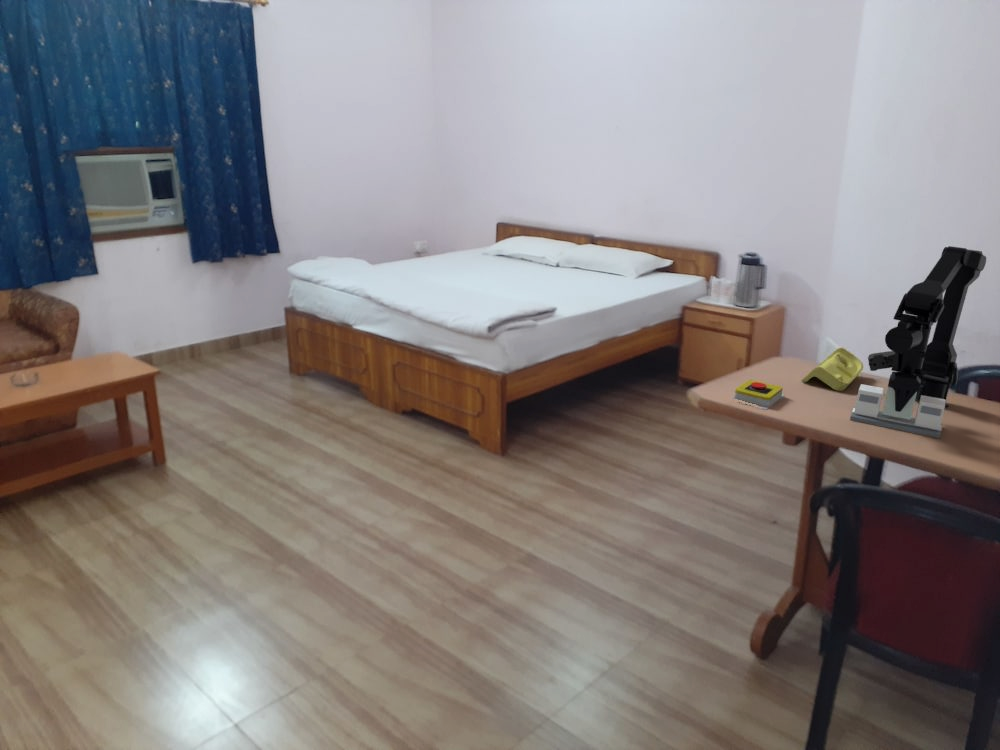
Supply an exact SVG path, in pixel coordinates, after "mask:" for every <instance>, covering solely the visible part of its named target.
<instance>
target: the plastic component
mask: <svg viewBox="0 0 1000 750" xmlns="http://www.w3.org/2000/svg"><path fill="white" fill-rule="evenodd" d="M863 370H864V363H862V361H861V360H860V359H859V358H858V357H857V356H856V355H854V354H853V353H851V351H849V350H847V349H846V348H844V347H838V348H836V349H835V351H833V352H832V353H831V354H830V355H829V356H828V357H826V359H824V360H823V361H822V362H821V363H819V364H818V366H815V368H814V369H812V370H811V372H810V373H808V374H807V375H805V377H804V378H803V379H801V382H803V383H807V382H808V381H810V379H812V378H817V379H818V380H820V381H821V382H823V383H824V384H825V385H827V386H829V387H830V388H831V389H833V390H835V391H837V392H842V391H845V389H846V388H847V387H849V385H851V383H852V382H853V381H854V380H855V379H856V378H857V377H858V376H859V375H860V374H861V372H863Z"/></svg>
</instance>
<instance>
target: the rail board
mask: <svg viewBox="0 0 1000 750" xmlns="http://www.w3.org/2000/svg"><path fill="white" fill-rule="evenodd" d="M883 393H884V388H883V387H877V386H873V385H868V384H862V383H861V384H860V385H859V388H858V393H857V396H856V401H855V405H854V407H853V409H852V411H851V415H850V419H849V420H850V421H854V422H859V423H863V424H868V425H873V426H878V427H882V428H888V429H893V430H897V431H902V432H908V433H912V434H917V435H923V436H928V437H931V438H937V439H941V436H942V430H943V429H942V428H943V426H942V425H943V424H942V420H943V416H944V412H945V408H946V407H945V403H946V402H945V399H940V398H934V397H929V396H923V395H921V398H920V402H918V403H919V404H918V406H917V410H916V415H915V417H911V420H909V419H904V418H899V417H894V416H889V415H884V414H882V413H883V411H880V406H881V402H882V397H883Z"/></svg>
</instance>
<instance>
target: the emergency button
mask: <svg viewBox="0 0 1000 750" xmlns="http://www.w3.org/2000/svg"><path fill="white" fill-rule="evenodd" d="M784 396H785V394H784V393H783V387H782V386H780V385H775V384H772V383H768V382H762V381H758V380H755V379H749V380H746V381H745V382H744V383H743V384H741V385H739V386H737V387H736V388H735V390H734V395H733V398H734V399H738V400H742V401H745V402H748V403H752V404H756V405H758V406H759V407H760V408H762V409H761V410H768V409H770V408H771V407H772V406H773V405H775V404H776V403H777V402H778V401H780V400H781V399H782V398H783V397H784ZM774 403H775V404H774ZM769 407H770V408H769ZM760 408H759V409H760Z"/></svg>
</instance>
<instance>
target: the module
mask: <svg viewBox="0 0 1000 750" xmlns="http://www.w3.org/2000/svg"><path fill="white" fill-rule="evenodd" d="M916 395H917V392H916V393H915V394H914V395H913V397H912V398H911V399H910V400H909V401H908V403H907V404H906V405H905V407H904V408H903V409H902V410H901V412H898V411H895V391H894V389H893V388H891V387H888V386H887V390H886V394H885V400H884V404H883V409H882V412H883V413H882V414H884V415H889V416H894V417H899V418H904V419H909V420H911V418H912V415H913V411H914V406H915V402H916V400H915V399H916Z"/></svg>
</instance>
